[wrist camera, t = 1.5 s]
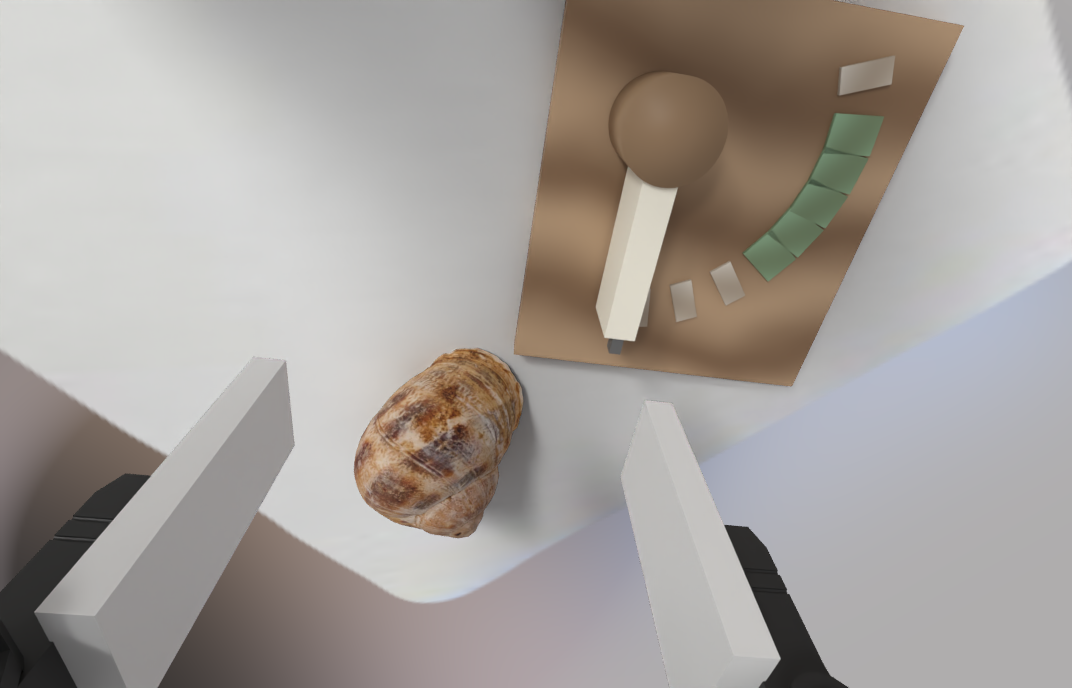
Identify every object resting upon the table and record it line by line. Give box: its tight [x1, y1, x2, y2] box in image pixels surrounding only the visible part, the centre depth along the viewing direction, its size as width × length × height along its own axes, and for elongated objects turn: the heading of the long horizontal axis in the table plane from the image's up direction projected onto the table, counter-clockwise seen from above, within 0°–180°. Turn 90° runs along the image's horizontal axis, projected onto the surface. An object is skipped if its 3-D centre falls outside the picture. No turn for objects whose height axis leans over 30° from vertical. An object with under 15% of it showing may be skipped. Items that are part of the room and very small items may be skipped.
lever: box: [596, 71, 728, 355], centre depth 25 cm, size 13×4×4 cm, turn 171°
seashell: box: [354, 348, 523, 538], centre depth 33 cm, size 10×9×10 cm
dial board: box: [514, 0, 964, 386], centre depth 28 cm, size 20×18×1 cm
